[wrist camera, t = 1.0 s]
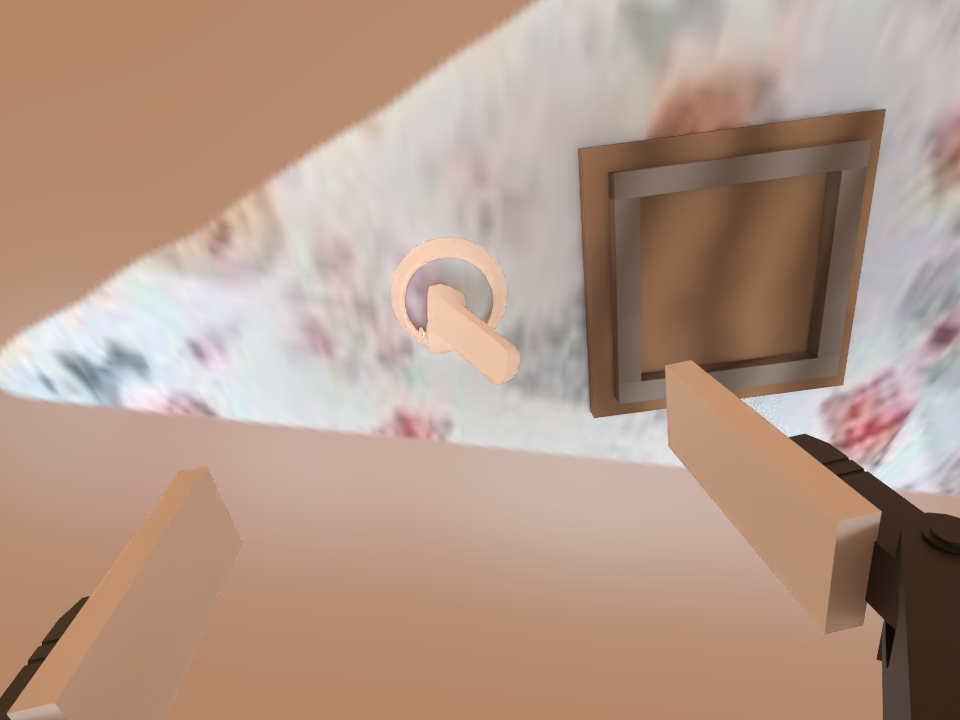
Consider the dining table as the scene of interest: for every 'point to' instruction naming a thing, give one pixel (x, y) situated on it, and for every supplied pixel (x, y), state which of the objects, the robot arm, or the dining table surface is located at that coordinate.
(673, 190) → the picture frame
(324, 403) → the dining table surface
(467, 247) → the hook
